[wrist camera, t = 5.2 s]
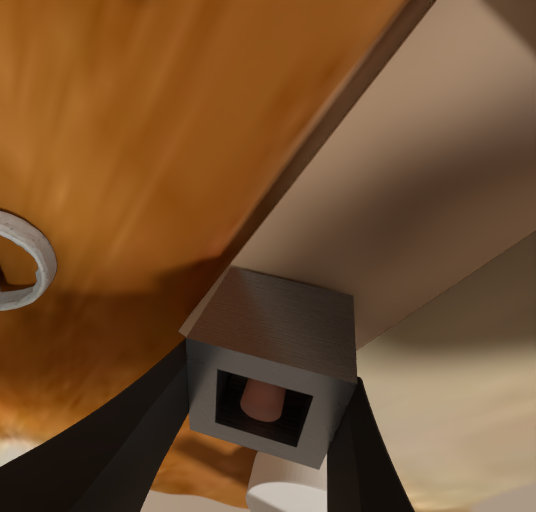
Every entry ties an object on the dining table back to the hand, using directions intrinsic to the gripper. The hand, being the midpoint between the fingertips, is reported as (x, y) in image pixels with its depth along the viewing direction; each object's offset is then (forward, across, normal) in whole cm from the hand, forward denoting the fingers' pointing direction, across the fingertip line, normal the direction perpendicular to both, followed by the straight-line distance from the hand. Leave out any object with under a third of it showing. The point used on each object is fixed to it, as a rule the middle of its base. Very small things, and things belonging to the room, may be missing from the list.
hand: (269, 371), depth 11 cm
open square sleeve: (+2, 0, 0) cm, 2 cm away
